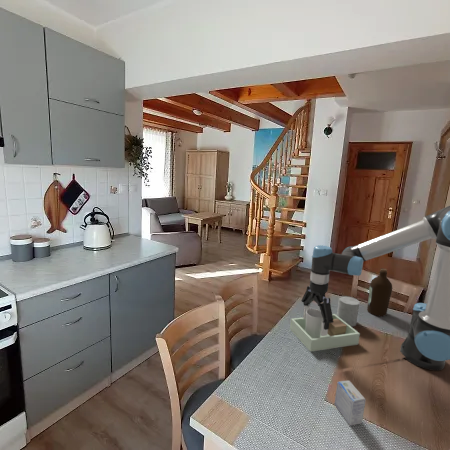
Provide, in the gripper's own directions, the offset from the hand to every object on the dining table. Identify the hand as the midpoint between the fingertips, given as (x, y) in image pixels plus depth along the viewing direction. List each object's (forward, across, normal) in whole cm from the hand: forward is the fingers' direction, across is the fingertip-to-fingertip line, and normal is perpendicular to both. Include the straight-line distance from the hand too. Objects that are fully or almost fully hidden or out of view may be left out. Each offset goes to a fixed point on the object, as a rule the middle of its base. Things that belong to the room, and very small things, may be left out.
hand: (314, 326), depth 122 cm
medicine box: (+7, -37, +12) cm, 39 cm away
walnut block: (+6, 0, -12) cm, 13 cm away
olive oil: (+7, +15, -50) cm, 53 cm away
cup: (+6, 0, 0) cm, 6 cm away
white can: (+7, +9, -25) cm, 28 cm away
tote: (+6, 0, -5) cm, 8 cm away
